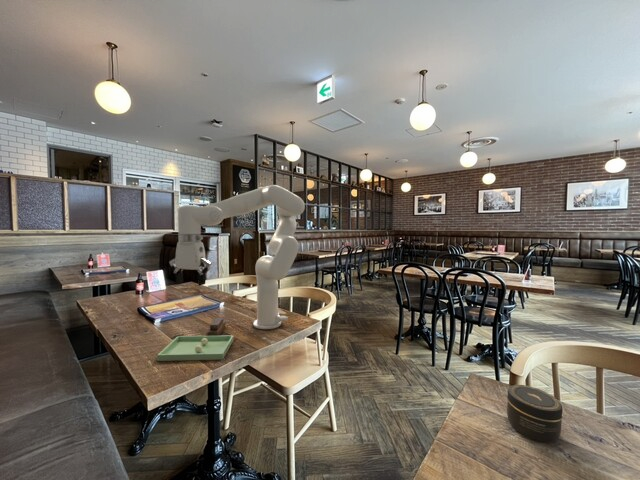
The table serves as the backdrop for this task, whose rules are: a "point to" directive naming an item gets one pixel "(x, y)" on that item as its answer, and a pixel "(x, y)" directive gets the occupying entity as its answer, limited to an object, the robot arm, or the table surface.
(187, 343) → the tray
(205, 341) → the crumb
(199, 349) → the crumb
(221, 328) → the stepped brown post
